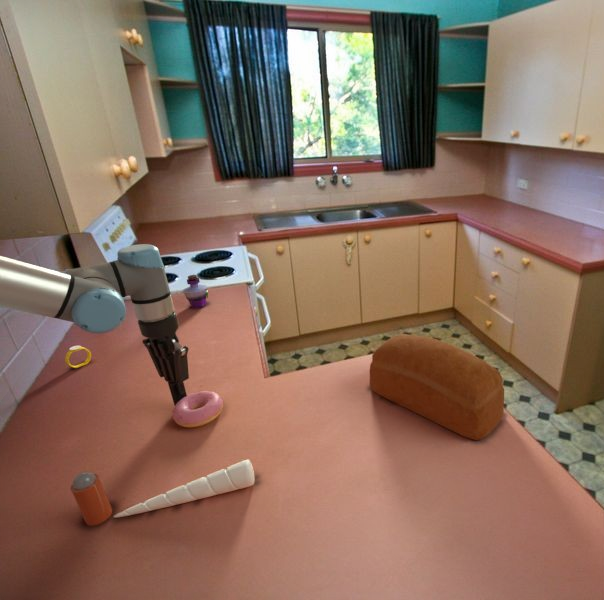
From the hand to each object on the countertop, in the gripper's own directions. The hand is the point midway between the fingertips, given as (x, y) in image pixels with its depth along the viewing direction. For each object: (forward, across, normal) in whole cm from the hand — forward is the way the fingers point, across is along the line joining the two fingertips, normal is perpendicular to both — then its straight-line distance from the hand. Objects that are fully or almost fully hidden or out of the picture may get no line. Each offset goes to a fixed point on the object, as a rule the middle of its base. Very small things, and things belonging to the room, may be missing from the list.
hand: (181, 403), depth 103 cm
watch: (+2, +44, 0) cm, 44 cm away
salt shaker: (+1, -14, +27) cm, 30 cm away
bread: (+2, -54, -28) cm, 61 cm away
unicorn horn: (+2, -26, +17) cm, 31 cm away
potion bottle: (+2, +49, -44) cm, 66 cm away
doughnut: (+2, -6, 0) cm, 6 cm away
